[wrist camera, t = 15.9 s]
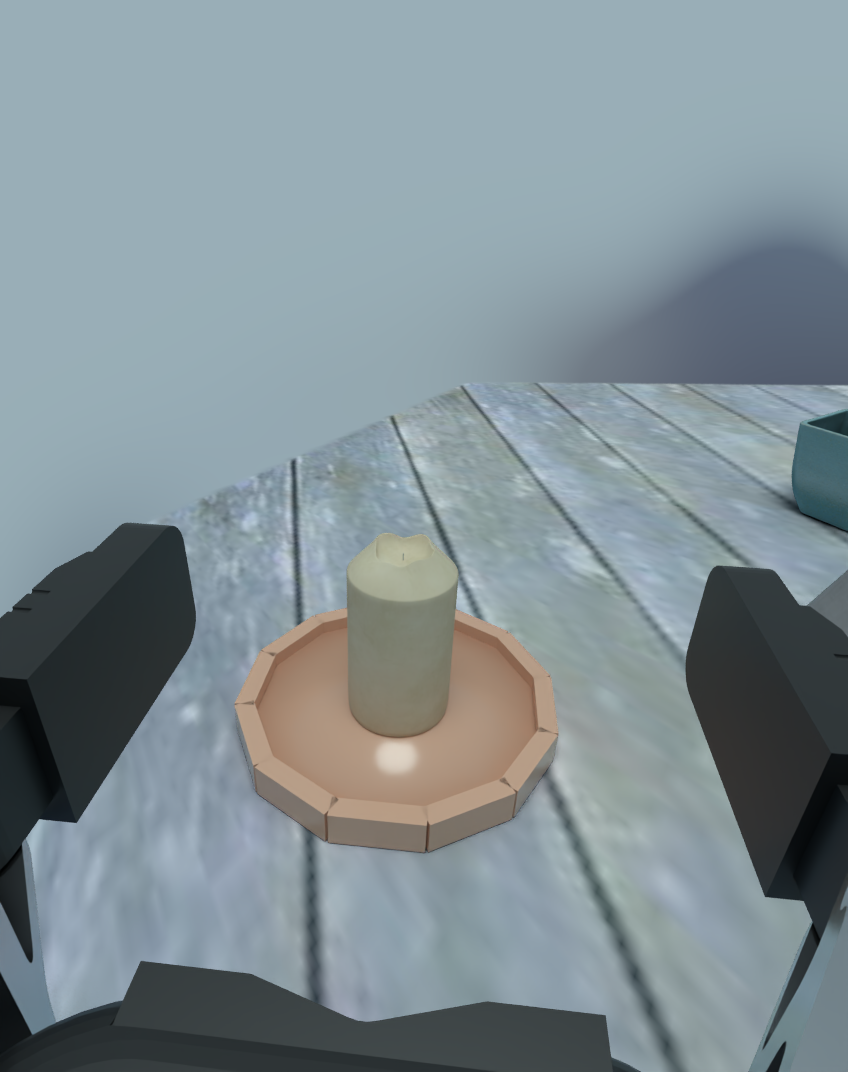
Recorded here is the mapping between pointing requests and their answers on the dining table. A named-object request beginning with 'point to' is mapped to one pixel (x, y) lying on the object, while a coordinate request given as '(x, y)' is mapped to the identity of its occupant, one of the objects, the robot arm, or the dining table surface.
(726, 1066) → the dining table surface
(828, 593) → the coffee pot
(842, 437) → the flower pot
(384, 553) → the candle
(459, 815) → the saucer
